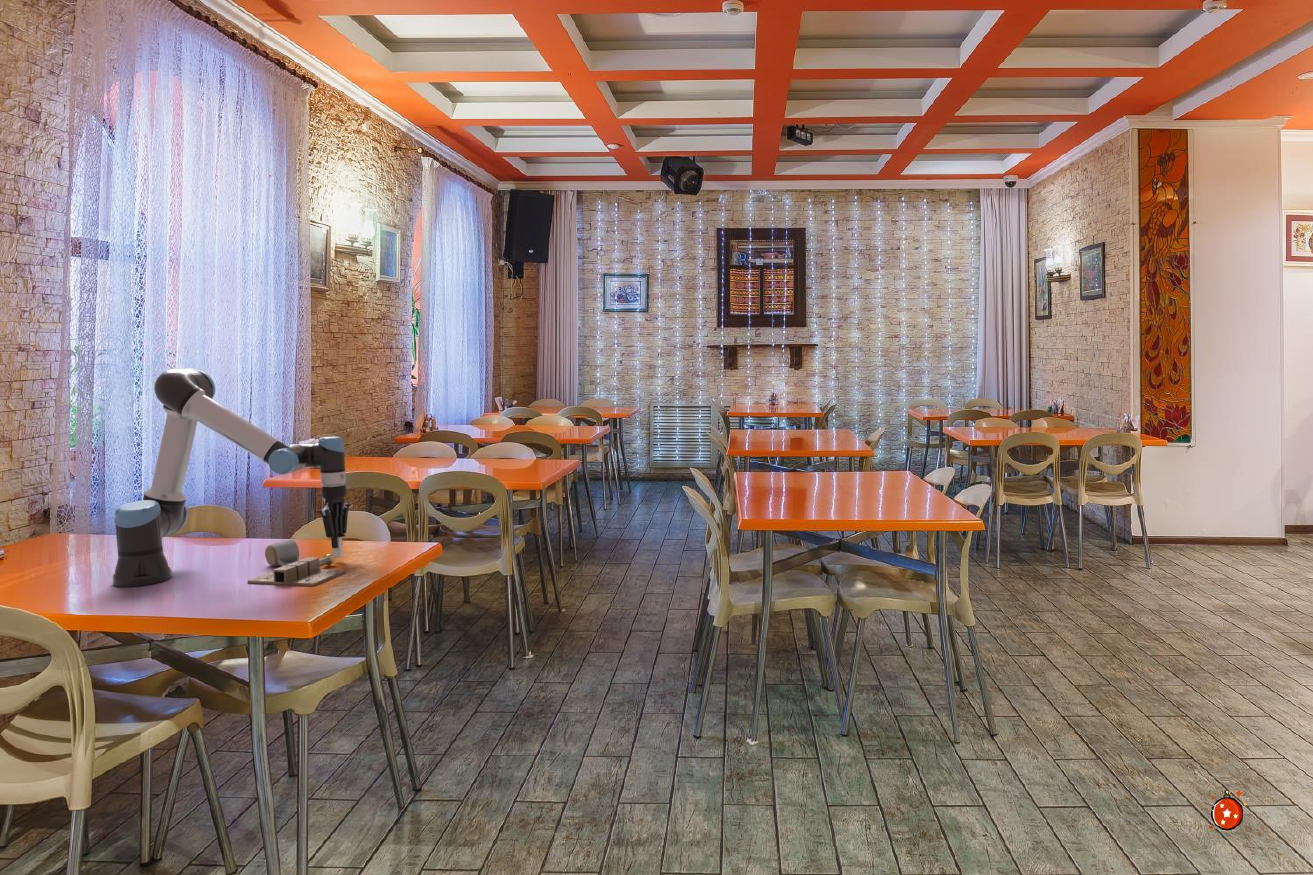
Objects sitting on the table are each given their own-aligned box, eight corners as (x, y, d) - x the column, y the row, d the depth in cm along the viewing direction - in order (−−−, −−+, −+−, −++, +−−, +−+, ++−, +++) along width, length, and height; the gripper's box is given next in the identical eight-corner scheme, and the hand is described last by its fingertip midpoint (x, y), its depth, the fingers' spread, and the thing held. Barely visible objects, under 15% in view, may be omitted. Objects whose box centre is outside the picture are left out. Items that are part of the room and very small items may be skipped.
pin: (300, 578, 254) (299, 567, 254) (290, 577, 255) (289, 566, 255) (335, 564, 271) (334, 554, 270) (325, 564, 272) (325, 553, 271)
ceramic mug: (264, 565, 273) (262, 542, 272) (288, 560, 279) (287, 537, 278) (281, 570, 266) (280, 546, 266) (305, 565, 273) (304, 541, 272)
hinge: (313, 586, 245) (312, 571, 245) (247, 583, 250) (246, 568, 250) (345, 572, 261) (345, 558, 260) (283, 570, 266) (282, 556, 265)
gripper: (331, 488, 266) (336, 562, 268) (355, 482, 278) (359, 553, 281) (310, 487, 268) (315, 561, 270) (335, 481, 280) (339, 552, 282)
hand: (337, 557), depth 275 cm, fingers closed
